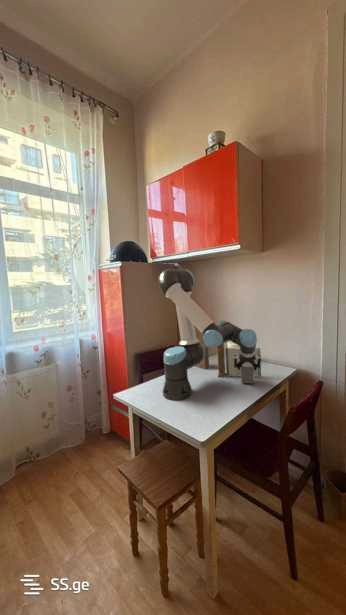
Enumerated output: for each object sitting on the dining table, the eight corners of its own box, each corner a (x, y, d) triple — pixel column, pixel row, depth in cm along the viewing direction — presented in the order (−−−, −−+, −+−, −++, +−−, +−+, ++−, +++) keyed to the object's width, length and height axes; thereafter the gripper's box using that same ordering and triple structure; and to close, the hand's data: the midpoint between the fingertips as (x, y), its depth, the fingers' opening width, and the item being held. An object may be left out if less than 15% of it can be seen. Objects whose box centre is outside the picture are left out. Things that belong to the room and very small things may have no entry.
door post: (217, 377, 146) (215, 338, 144) (218, 374, 151) (216, 336, 149) (226, 377, 145) (224, 338, 143) (226, 374, 150) (224, 336, 147)
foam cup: (237, 364, 166) (236, 345, 164) (225, 361, 173) (224, 343, 171) (244, 360, 172) (244, 342, 170) (233, 358, 179) (232, 340, 177)
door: (226, 375, 146) (225, 348, 145) (226, 374, 148) (225, 348, 146) (261, 375, 142) (260, 348, 140) (260, 374, 143) (259, 348, 142)
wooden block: (205, 369, 160) (204, 342, 159) (194, 365, 169) (192, 340, 167) (209, 368, 163) (208, 341, 161) (198, 364, 171) (196, 338, 169)
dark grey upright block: (241, 383, 134) (241, 366, 133) (241, 378, 140) (240, 363, 139) (253, 383, 133) (252, 367, 132) (252, 378, 138) (252, 363, 138)
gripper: (227, 358, 122) (229, 377, 139) (268, 358, 117) (265, 378, 135) (227, 345, 126) (229, 365, 144) (267, 344, 122) (263, 365, 140)
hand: (246, 371), depth 139 cm, fingers closed on dark grey upright block, 6 cm apart
